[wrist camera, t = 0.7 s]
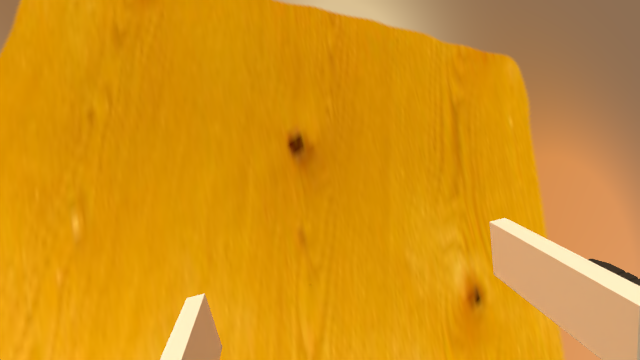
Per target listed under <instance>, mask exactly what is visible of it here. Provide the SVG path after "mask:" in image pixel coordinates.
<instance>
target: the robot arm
mask: <svg viewBox="0 0 640 360" xmlns="http://www.w3.org/2000/svg"><path fill="white" fill-rule="evenodd" d="M490 232H491V244H492V257H493V269H494V275H495V276H496V277H498V278H499V279H500V280H502V281H503V282H504V283H505V284H507V285H508V286H509V287H510V288H512V289H513V290H514V291H515V292H517V293H518V294H519V295H521V296H522V297H523V298H524V299H526V300H527V301H528V302H529V303H531V304H532V305H533V306H534V307H536V308H537V309H538V310H540V311H541V312H542V313H543V314H545V315H546V316H547V317H548V318H550V319H551V320H552V321H554V322H555V323H556V324H557V325H559V326H560V327H561V328H562V329H564V330H565V331H566V332H567V333H569V334H570V335H571V336H573V337H574V338H575V339H576V340H578V341H579V342H580V343H581V344H583V345H584V346H585V347H586V348H588V349H589V350H590V351H592V352H593V353H594V354H595V355H597V356H598V357H599V358H600V359H602V360H640V279H638V278H637V277H636V276H634V275H632V274H630V273H626V272H625V271H624V270H622V269H620V268H617V267H616V266H613V265H611V264H609V263H605V262H602V261H598V260H595V259H589V260H587V259H585V258H583V257H581V256H579V255H577V254H575V253H573V252H571V251H569V250H567V249H565V248H563V247H561V246H559V245H558V244H555V243H554V242H552V241H550V240H548V239H546V238H544V237H542V236H540V235H538V234H536V233H534V232H532V231H530V230H528V229H526V228H524V227H522V226H520V225H518V224H516V223H514V222H512V221H510V220H508V219H506V218H503V219H499V220H495V221H491V222H490ZM221 350H222V345H221V342H220V339H219V336H218V333H217V330H216V327H215V324H214V320H213V317H212V314H211V311H210V308H209V305H208V302H207V299H206V296H205V294H201V295H197V296H193V297H189V298H187V299H186V301H185V303H184V306H183V308H182V310H181V313H180V315H179V317H178V319H177V322H176V324H175V326H174V329H173V331H172V333H171V335H170V338H169V340H168V342H167V345H166V347H165V349H164V351H163V354H162V356H161V358H160V360H219V359H220V354H221Z"/></svg>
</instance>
